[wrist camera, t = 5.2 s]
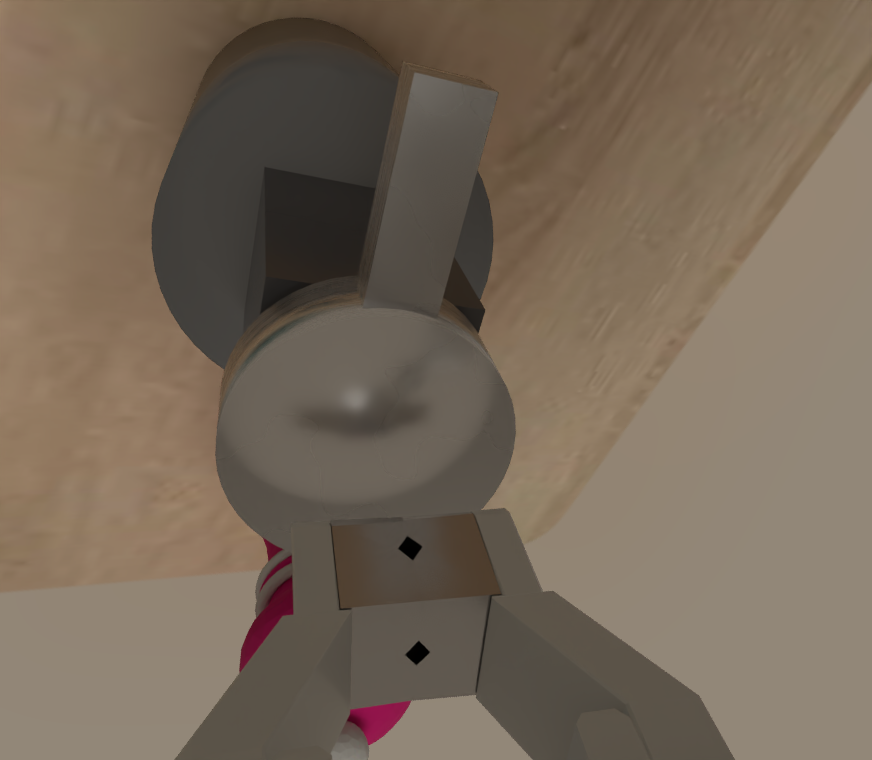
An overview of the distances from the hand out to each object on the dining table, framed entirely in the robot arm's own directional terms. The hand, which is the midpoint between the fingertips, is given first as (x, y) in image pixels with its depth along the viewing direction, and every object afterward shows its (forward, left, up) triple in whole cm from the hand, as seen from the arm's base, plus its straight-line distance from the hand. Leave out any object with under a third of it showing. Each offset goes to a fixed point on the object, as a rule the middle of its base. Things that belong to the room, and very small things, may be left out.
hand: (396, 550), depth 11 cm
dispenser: (0, 0, -25) cm, 25 cm away
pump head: (-1, -1, -11) cm, 11 cm away
